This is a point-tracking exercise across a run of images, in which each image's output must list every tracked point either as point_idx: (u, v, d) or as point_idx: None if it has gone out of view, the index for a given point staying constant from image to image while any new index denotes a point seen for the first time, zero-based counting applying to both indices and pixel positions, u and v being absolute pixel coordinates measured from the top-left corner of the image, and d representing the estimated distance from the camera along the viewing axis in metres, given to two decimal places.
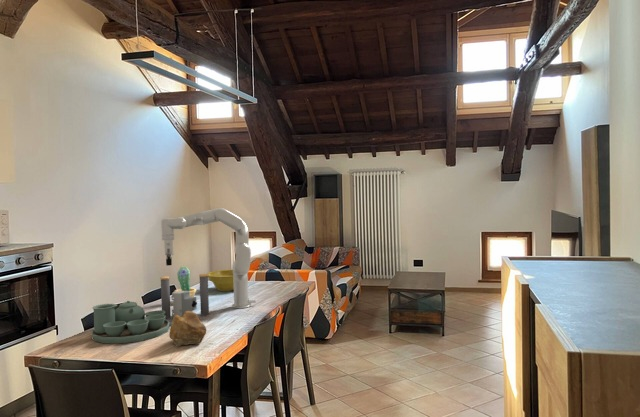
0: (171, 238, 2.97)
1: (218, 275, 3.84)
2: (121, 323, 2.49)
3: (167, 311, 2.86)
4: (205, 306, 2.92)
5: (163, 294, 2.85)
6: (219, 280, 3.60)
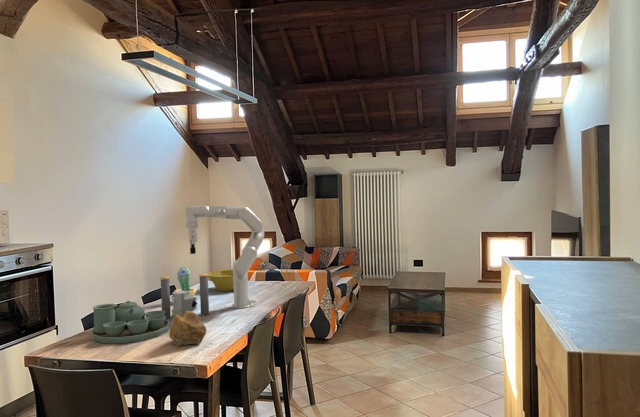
0: (195, 226, 3.03)
1: (218, 275, 3.84)
2: (121, 323, 2.49)
3: (167, 311, 2.86)
4: (205, 306, 2.92)
5: (163, 294, 2.85)
6: (219, 280, 3.60)
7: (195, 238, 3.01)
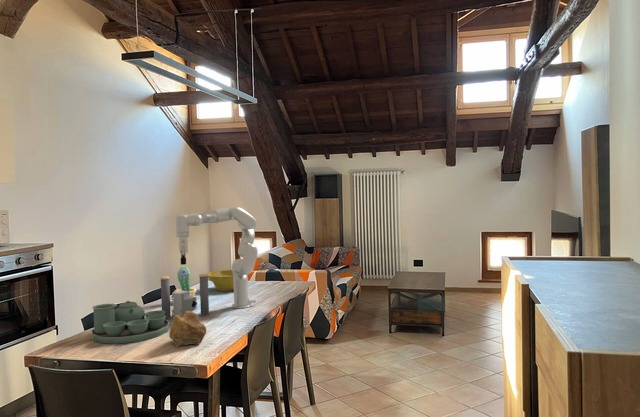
0: (186, 235, 2.88)
1: (218, 275, 3.84)
2: (121, 323, 2.49)
3: (167, 311, 2.86)
4: (205, 306, 2.92)
5: (163, 294, 2.85)
6: (219, 280, 3.60)
7: (186, 248, 2.86)
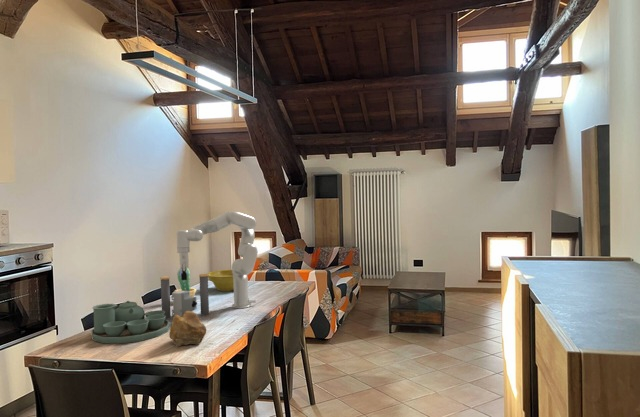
0: (187, 251, 2.88)
1: (218, 275, 3.84)
2: (121, 323, 2.49)
3: (167, 311, 2.86)
4: (205, 306, 2.92)
5: (163, 294, 2.85)
6: (219, 280, 3.60)
7: (186, 264, 2.86)
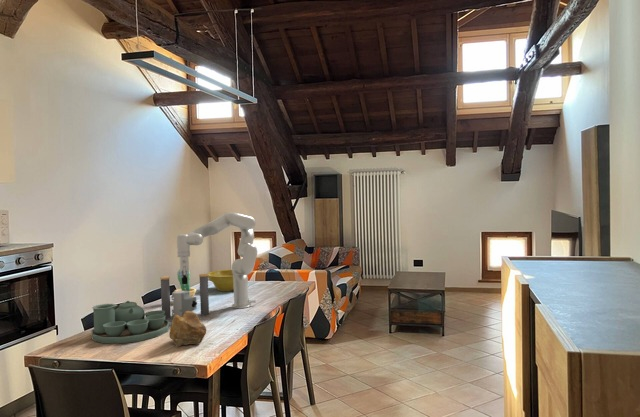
0: (187, 255, 2.88)
1: (218, 275, 3.84)
2: (121, 323, 2.49)
3: (167, 311, 2.86)
4: (205, 306, 2.92)
5: (163, 294, 2.85)
6: (219, 280, 3.60)
7: (187, 268, 2.86)
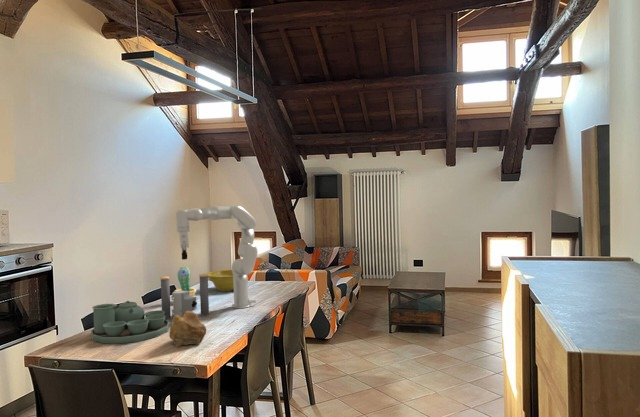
0: (186, 230, 2.88)
1: (218, 275, 3.84)
2: (121, 323, 2.49)
3: (167, 311, 2.86)
4: (205, 306, 2.92)
5: (163, 294, 2.85)
6: (219, 280, 3.60)
7: (186, 243, 2.86)
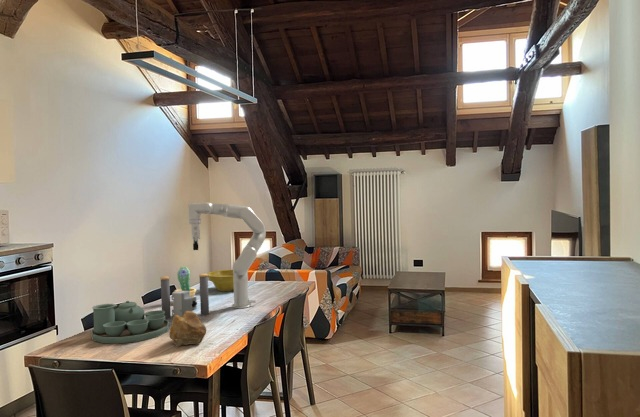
0: (198, 222, 3.05)
1: (218, 275, 3.84)
2: (121, 323, 2.49)
3: (167, 311, 2.86)
4: (205, 306, 2.92)
5: (163, 294, 2.85)
6: (219, 280, 3.60)
7: (198, 235, 3.03)
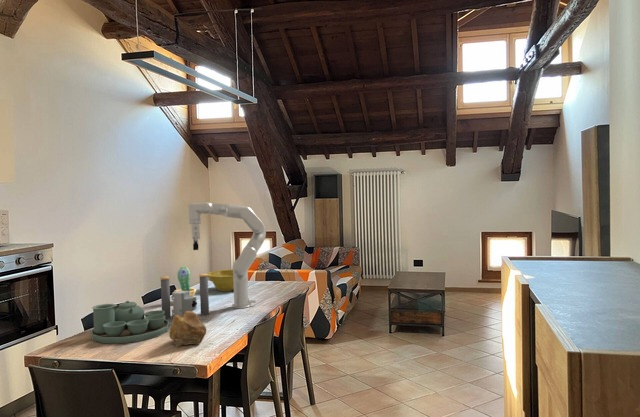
0: (198, 222, 3.05)
1: (218, 275, 3.84)
2: (121, 323, 2.49)
3: (167, 311, 2.86)
4: (205, 306, 2.92)
5: (163, 294, 2.85)
6: (219, 280, 3.60)
7: (198, 235, 3.04)
